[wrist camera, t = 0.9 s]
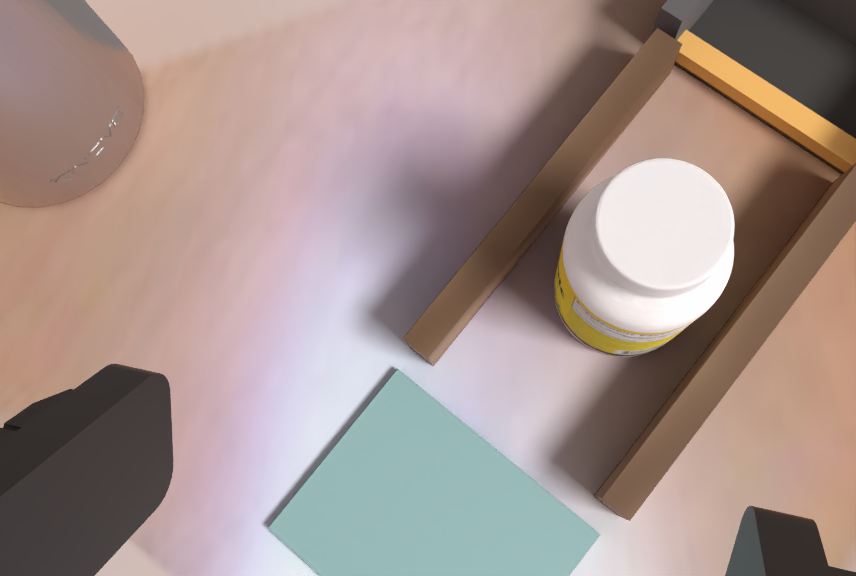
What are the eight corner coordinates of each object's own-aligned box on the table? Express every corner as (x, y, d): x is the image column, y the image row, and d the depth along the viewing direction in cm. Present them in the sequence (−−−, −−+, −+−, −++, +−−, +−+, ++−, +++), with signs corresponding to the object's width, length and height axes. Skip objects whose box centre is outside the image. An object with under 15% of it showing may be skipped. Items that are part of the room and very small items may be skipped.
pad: (269, 527, 32) (267, 528, 32) (398, 369, 33) (397, 368, 33) (468, 707, 30) (467, 710, 30) (599, 534, 31) (600, 534, 31)
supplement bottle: (593, 205, 34) (629, 102, 24) (712, 270, 33) (798, 189, 23) (526, 315, 33) (536, 254, 23) (646, 385, 32) (707, 350, 22)
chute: (410, 347, 33) (403, 338, 31) (646, 58, 35) (657, 27, 32) (619, 516, 31) (629, 520, 28) (859, 199, 33) (887, 177, 30)
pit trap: (647, 46, 35) (661, 7, 32) (729, -55, 36) (750, -101, 33) (872, 194, 33) (909, 167, 30) (956, 84, 33) (999, 47, 30)
